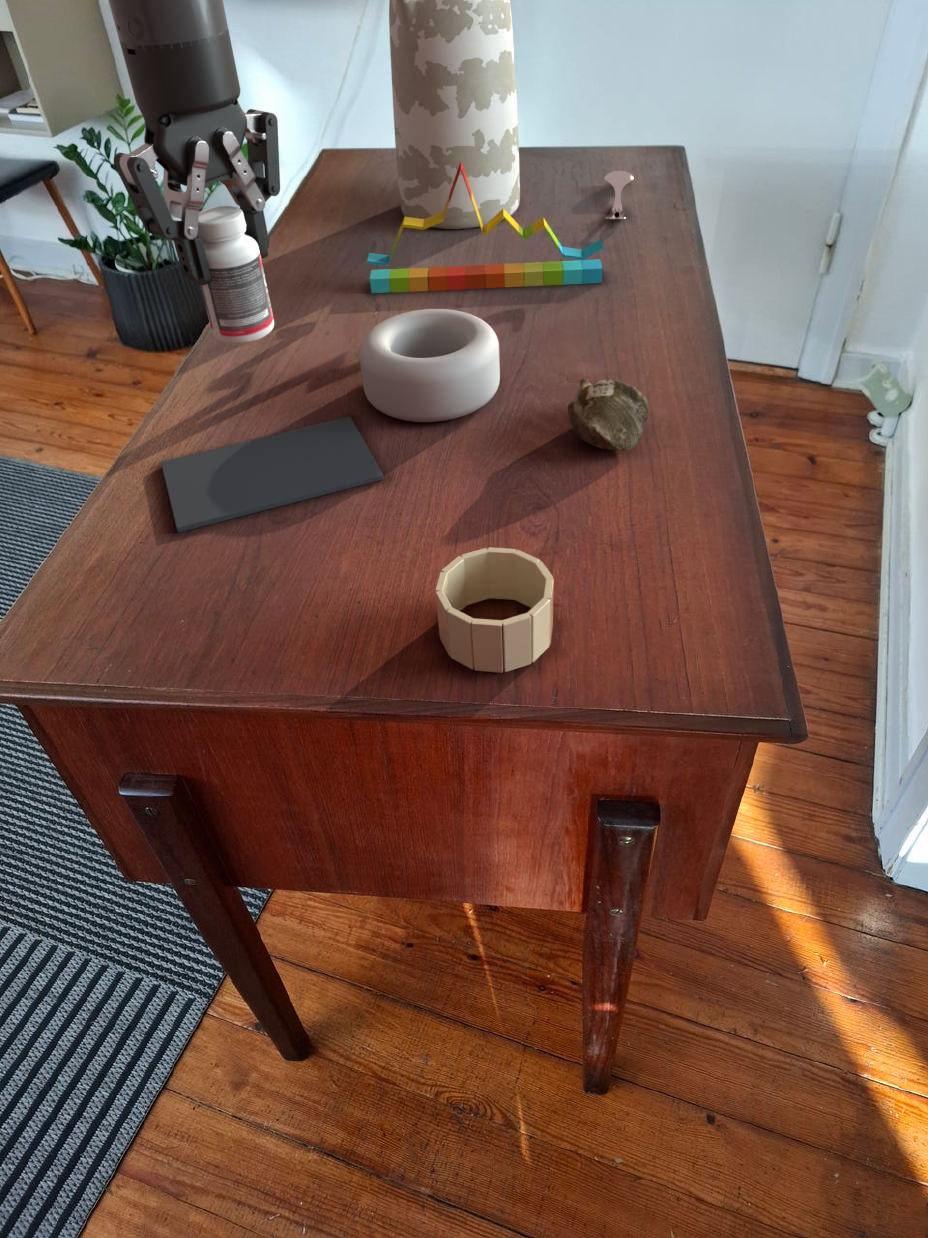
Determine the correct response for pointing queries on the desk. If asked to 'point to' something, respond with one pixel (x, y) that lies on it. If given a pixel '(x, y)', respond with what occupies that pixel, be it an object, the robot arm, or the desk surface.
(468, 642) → the bracelet
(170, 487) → the mat
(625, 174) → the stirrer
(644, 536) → the desk surface
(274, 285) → the desk surface
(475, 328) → the fat ring
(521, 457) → the desk surface
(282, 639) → the desk surface
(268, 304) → the pill bottle
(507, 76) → the vase
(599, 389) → the fossilized seashell
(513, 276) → the chart
